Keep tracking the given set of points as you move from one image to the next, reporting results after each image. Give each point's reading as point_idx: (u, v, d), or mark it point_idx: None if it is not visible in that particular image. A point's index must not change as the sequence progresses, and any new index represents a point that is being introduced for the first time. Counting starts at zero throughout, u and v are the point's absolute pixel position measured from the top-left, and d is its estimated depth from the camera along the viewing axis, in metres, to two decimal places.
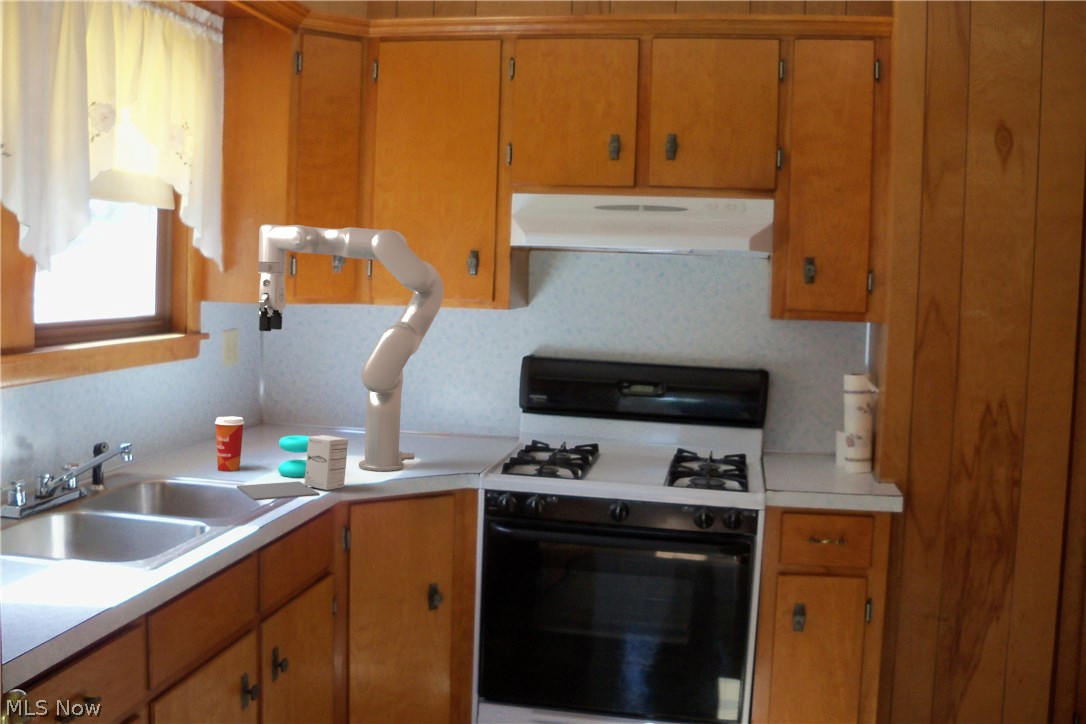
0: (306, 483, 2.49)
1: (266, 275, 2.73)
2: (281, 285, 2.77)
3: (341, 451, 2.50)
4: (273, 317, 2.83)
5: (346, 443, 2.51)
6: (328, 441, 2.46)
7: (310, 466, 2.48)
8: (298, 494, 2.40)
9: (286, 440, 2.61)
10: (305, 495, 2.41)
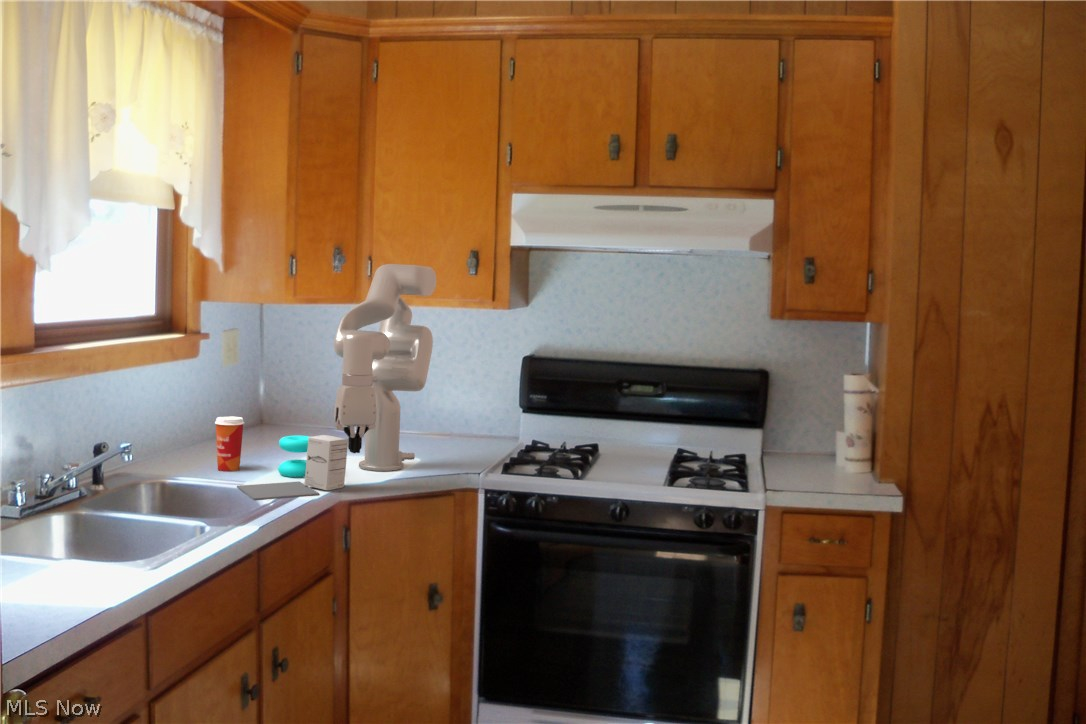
0: (306, 483, 2.49)
1: None
2: None
3: (341, 451, 2.49)
4: None
5: (346, 443, 2.51)
6: (328, 442, 2.46)
7: (310, 466, 2.48)
8: (298, 494, 2.40)
9: (286, 440, 2.61)
10: (305, 495, 2.41)
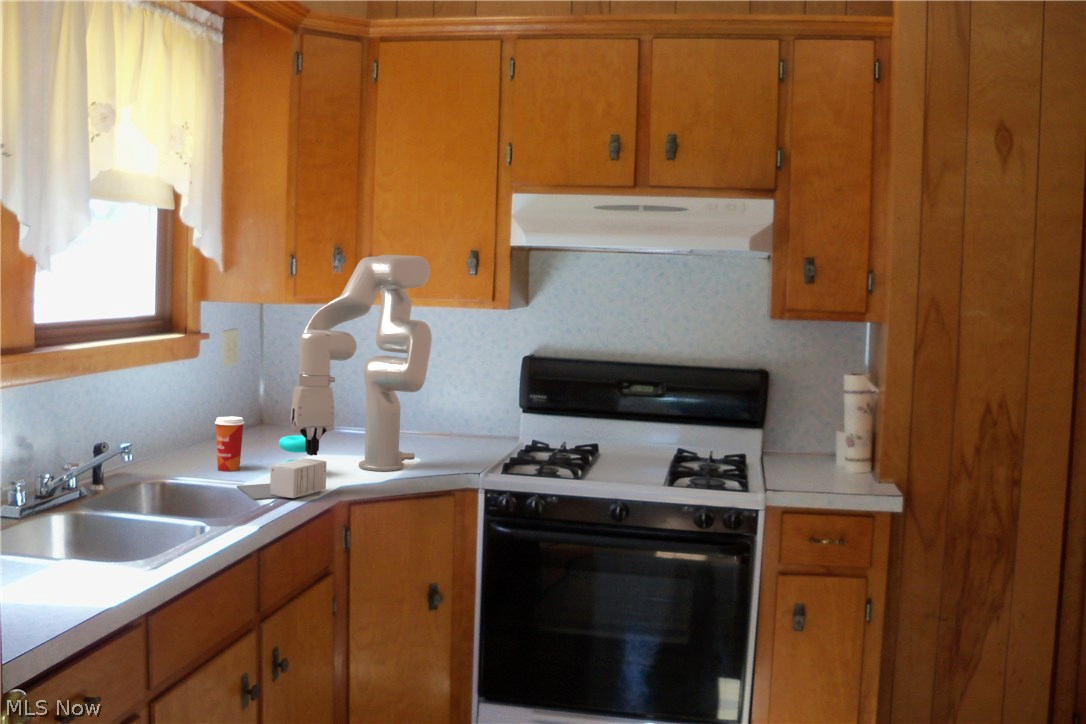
0: None
1: None
2: None
3: (302, 477, 2.37)
4: None
5: (297, 471, 2.36)
6: (292, 497, 2.35)
7: None
8: None
9: (286, 440, 2.61)
10: (305, 495, 2.41)
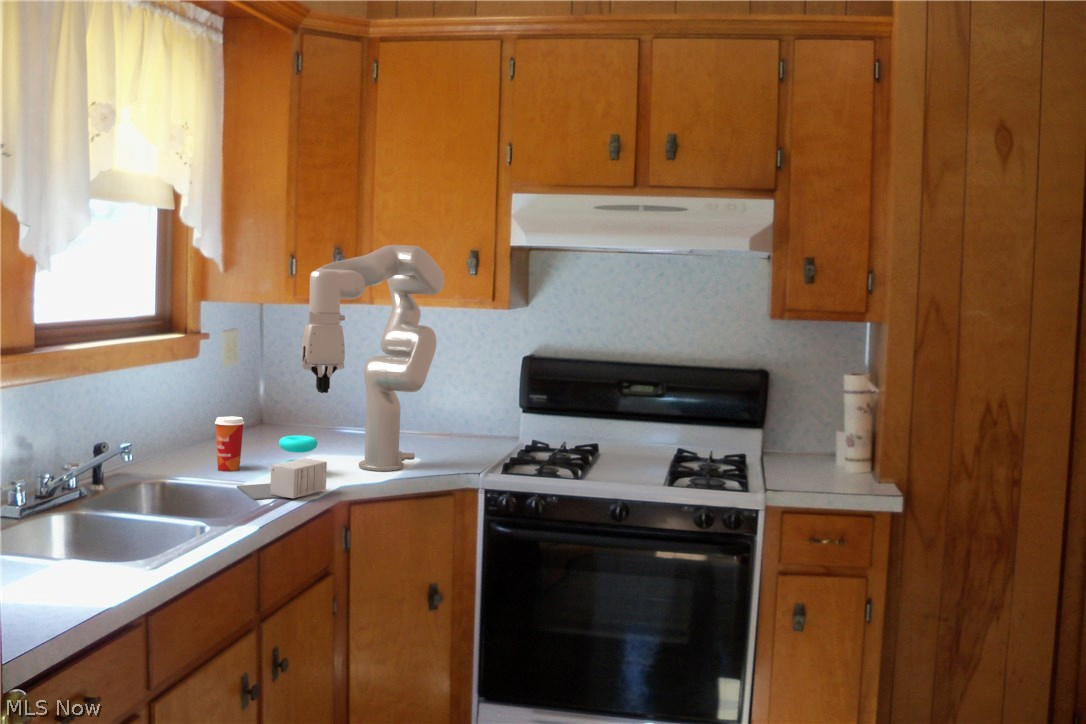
0: None
1: None
2: None
3: (302, 478, 2.37)
4: None
5: (297, 471, 2.35)
6: None
7: None
8: None
9: (286, 440, 2.61)
10: (305, 495, 2.41)
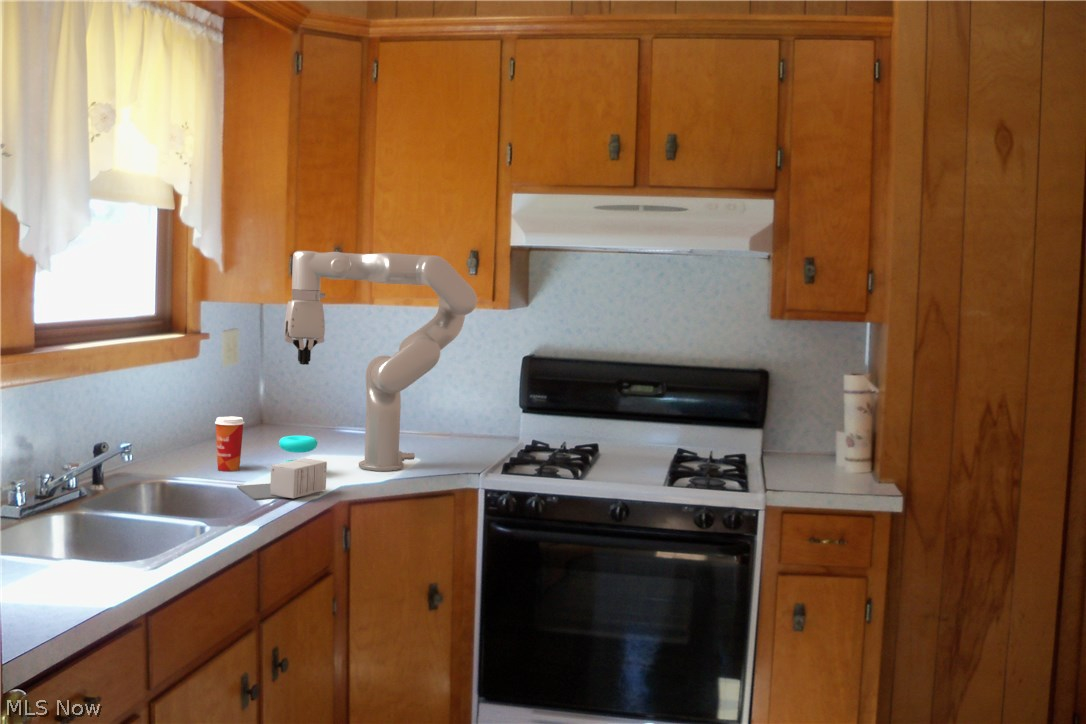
0: None
1: None
2: None
3: (302, 478, 2.37)
4: None
5: (297, 471, 2.35)
6: None
7: None
8: None
9: (286, 440, 2.61)
10: (305, 495, 2.41)
